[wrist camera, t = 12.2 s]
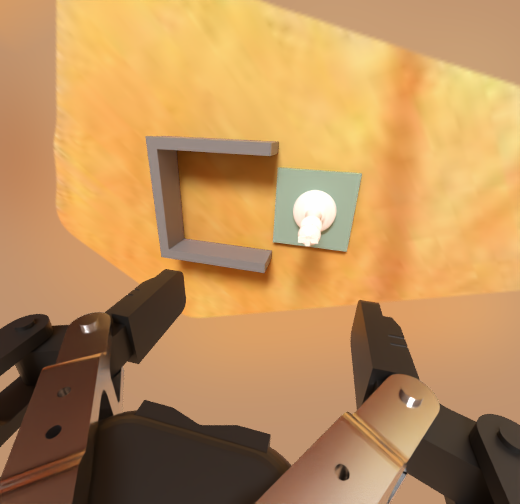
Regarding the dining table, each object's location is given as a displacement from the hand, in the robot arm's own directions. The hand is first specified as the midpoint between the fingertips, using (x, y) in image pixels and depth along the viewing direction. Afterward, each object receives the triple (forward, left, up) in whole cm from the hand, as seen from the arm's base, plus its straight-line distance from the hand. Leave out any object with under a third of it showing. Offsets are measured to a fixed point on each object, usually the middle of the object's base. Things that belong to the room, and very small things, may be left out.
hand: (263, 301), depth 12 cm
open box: (+10, +1, -21) cm, 23 cm away
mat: (-1, +1, -21) cm, 21 cm away
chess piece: (-1, +1, -21) cm, 21 cm away
